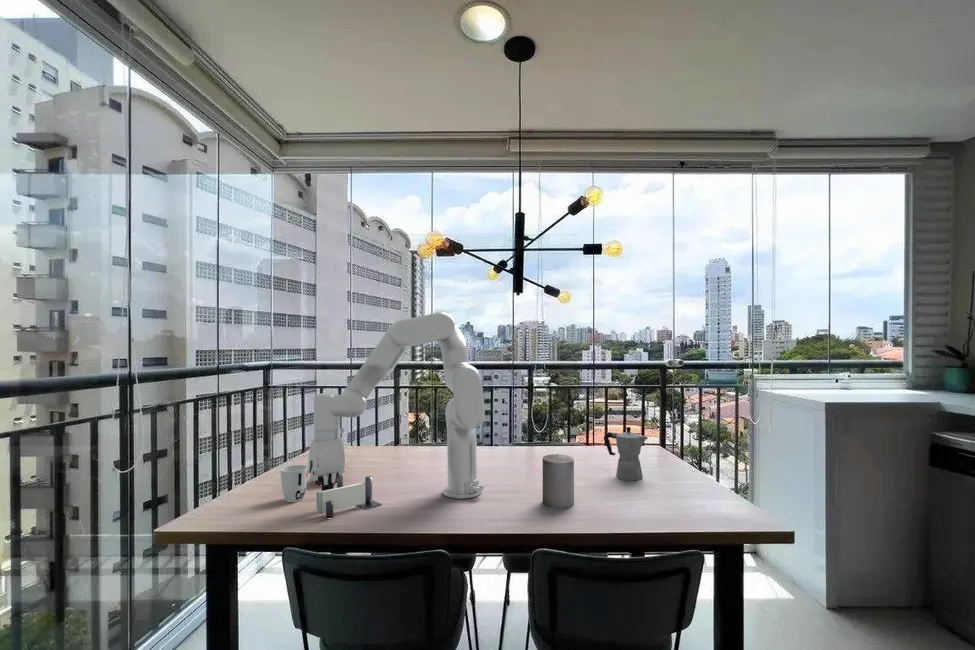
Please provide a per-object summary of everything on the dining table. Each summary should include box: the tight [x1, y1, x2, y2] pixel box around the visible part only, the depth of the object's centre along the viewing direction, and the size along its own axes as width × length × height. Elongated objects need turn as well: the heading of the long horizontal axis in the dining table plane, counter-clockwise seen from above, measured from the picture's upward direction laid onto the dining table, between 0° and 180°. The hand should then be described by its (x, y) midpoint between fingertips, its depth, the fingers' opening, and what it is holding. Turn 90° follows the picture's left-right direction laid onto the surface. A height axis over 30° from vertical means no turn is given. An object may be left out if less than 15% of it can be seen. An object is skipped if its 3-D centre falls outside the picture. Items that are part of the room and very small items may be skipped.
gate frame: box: [325, 473, 382, 519], centre depth 150 cm, size 22×17×8 cm
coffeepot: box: [603, 426, 649, 482], centre depth 177 cm, size 15×9×18 cm, turn 67°
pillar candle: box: [542, 453, 575, 509], centre depth 150 cm, size 10×10×15 cm
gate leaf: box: [316, 482, 365, 515], centre depth 144 cm, size 14×1×6 cm, turn 129°
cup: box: [280, 464, 309, 503], centre depth 155 cm, size 8×8×10 cm
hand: (327, 496), depth 146 cm, fingers closed
